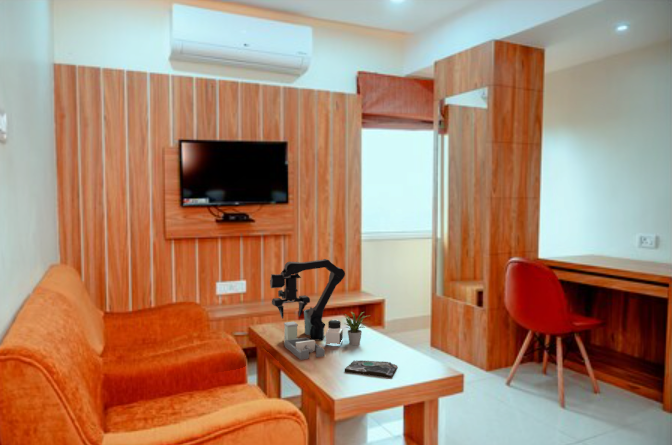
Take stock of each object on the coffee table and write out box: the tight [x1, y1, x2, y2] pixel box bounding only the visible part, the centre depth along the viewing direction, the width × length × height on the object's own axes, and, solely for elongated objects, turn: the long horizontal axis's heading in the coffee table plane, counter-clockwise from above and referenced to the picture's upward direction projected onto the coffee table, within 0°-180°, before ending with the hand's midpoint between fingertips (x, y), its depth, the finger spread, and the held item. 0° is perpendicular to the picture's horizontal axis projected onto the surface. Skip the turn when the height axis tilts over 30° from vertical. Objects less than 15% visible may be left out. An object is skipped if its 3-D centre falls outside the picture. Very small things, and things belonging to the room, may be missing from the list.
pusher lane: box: [283, 336, 326, 360], centre depth 228 cm, size 21×12×4 cm, turn 26°
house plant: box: [344, 311, 371, 346], centre depth 241 cm, size 14×14×16 cm
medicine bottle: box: [325, 319, 344, 345], centre depth 239 cm, size 7×7×12 cm
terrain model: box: [344, 360, 399, 379], centre depth 206 cm, size 20×15×3 cm
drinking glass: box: [303, 308, 323, 336], centre depth 257 cm, size 10×10×12 cm
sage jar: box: [283, 321, 299, 341], centre depth 244 cm, size 5×5×9 cm
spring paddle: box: [295, 340, 316, 354], centre depth 224 cm, size 8×9×5 cm
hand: (291, 317), depth 243 cm, fingers open, 9 cm apart
